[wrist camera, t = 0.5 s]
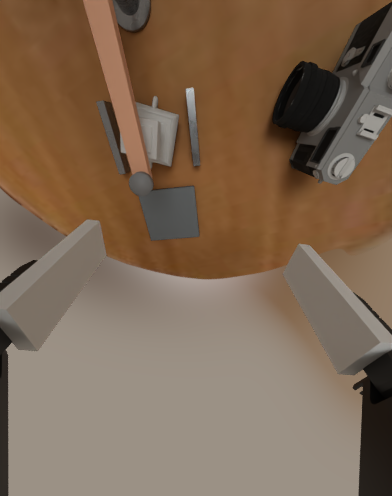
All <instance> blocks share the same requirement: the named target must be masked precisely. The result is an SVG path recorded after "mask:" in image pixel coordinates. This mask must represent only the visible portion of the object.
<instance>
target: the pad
mask: <svg viewBox="0 0 392 496" xmlns="http://www.w3.org/2000/svg"><path fill="white" fill-rule="evenodd" d="M139 199H140V202H141V206H142V209H143V213H144V217H145V220H146V224H147V227H148V231H149V234H150V238H151V241H152V240H164V239H177V238H189V237H199V227H198V218H197V209H196V200H195V190H194V186H186V187H176V188H166V189H156V190H151V192H150V193H149V194H148V195H146V196H139Z"/></svg>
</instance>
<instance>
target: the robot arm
mask: <svg viewBox="0 0 392 496" xmlns="http://www.w3.org/2000/svg"><path fill="white" fill-rule="evenodd" d="M106 256H107V255H106V250H105V245H104V240H103V235H102V230H101V225H100V221H96V220H86V221H85V222H84V223H82V224H81V225H80V226H79V227H78V228H76V229H75V230H74V231H73V232H72V233H70V234H69V235H68V236H67V237H66V238H65V239H63V240H62V241H61V242H60V243H59V244H57V245H56V246H55V247H54V248H52V249H51V250H50V251H49V252H48V253H46V254H45V255H44V256H43V257H42V258H40V259H39V260H33V261H31V262H29V263H27V264H25V265H22V266H21V267H19V268H18V269H17V270H15V271H14V272H13V273H12V274H11V276H8V277H7V278H5V279H4V280H3V281H2V283H0V496H8V354H7V351H6V348H7V347H8V346H9V345H10V344H11V343H13V344H14V345H15V346H16V347H17V349H19V350H29V351H38V350H39V349H40V347H41V346H42V344H43V343H44V342H45V340H46V339H47V338H48V336H49V335H50V333H51V332H52V331H53V329H54V328H55V326H56V325H57V323H58V322H59V321H60V320H61V318H62V317H63V315H64V314H65V312H66V311H67V310H68V308H69V307H70V306H71V304H72V303H73V301H74V300H75V299H76V297H77V296H78V294H79V293H80V292H81V290H82V289H83V287H84V286H85V285H86V283H87V282H88V281H89V279H90V278H91V276H92V275H93V274H94V272H95V271H96V269H97V268H98V266H99V265H100V264H101V262H102V261H103V259H104V258H105V257H106ZM283 276H284V278H285V279H286V281H287V283H288V285H289V287H290V288H291V290H292V292H293V294H294V296H295V297H296V299H297V301H298V303H299V305H300V306H301V308H302V310H303V312H304V314H305V315H306V317H307V319H308V321H309V323H310V324H311V326H312V328H313V330H314V332H315V333H316V335H317V337H318V339H319V341H320V342H321V344H322V346H323V348H324V350H325V351H326V353H327V355H328V357H329V359H330V360H331V362H332V364H333V366H334V367H335V369H336V371H337V373H338V374H345V375H355V374H357V373H358V372H360V371H361V370H364V371H365V373H366V374H367V377H366V378H364V379H362V380H361V381H359V382H357V383H356V384H354V386H353V389H354V390H357V389H358V388H360V387H363V391H361V392H360V394H361V395H363V400H362V424H361V448H360V473H359V474H360V475H359V496H392V329H391V328H390V327H389V326H388V325H387V324H386V323H385V322H384V321H383V320H382V319H381V318H379V316H378V315H377V313H376V312H375V311H372V308H371V307H370V306H369V305H368V304H367V303H366V302H365V301H364V300H363V299H362V298H360V297H359V296H358V295H356V294H355V293H354V292H352V291H351V290H350V289H349V288H348V287H347V286H346V285H345V284H344V282H343V281H342V280H341V279H340V278H339V277H338V276H337V275H336V274H335V273H334V271H333V270H332V269H331V268H330V267H329V266H328V265H327V264H326V263H325V262H324V261H323V260H322V258H321V257H320V256H319V255H318V254H317V253H316V252H315V251H314V250H313V248H312V247H311V246H310V245H304V244H298V246H297V248H296V250H295V252H294V253H293V255H292V257H291V259H290V261H289V263H288V265H287V267H286V268H285V270H284V272H283Z"/></svg>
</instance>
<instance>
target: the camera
mask: <svg viewBox="0 0 392 496" xmlns="http://www.w3.org/2000/svg"><path fill="white" fill-rule="evenodd" d="M391 117H392V2H391V3H389V4H388V5H386V6H385V7H383V8H382V9H380V10H379V11H377V12H376V13H374V14H373V15H371V16H370V17H368V18H367V19H365V20H364V21H362V22H361V23H359V24H358V25H356V27H355V29H354V31H353V33H352V35H351V37H350V39H349V41H348V43H347V45H346V47H345V49H344V51H343V53H342V55H341V57H340V59H339V61H338V63H337V65H336V67H335V69H334V71H333V73H331V72H329V71H327V70H323V69H320V68H318V66H317V64H314V63H312V62H309V63H307V62H304V61H302V62H300V63H299V64H298V65H297V66H296V67H295V68H294V70H293V71H292V73H291V74H290V76H289V77H288V79H287V81H286V83H285V84H284V86H283V88H282V90H281V93H280V95H279V98H278V100H277V103H276V105H275V109H274V113H273V123H274V124H276V125H278V126H279V127H281V128H290V129H292V130H295V131H300V132H301V134H300V136H299V138H298V140H297V145H296V147H295V149H294V151H293V153H292V155H291V157H290V159H289V160H290V163H291V166H292V168H294V169H296V170H299V171H301V172H304V173H306V174H309V175H311V176H313V177H315V178H316V179H319V181H318V183H322V181H326V182H329V183H332V184H336V185H337V184H339V183H341V182H343V181H344V180H346V179H348V178H349V177H350V175H351V174H352V172H353V171H354V169H355V168H356V167H357V165H358V164H359V162H360V161H361V159H362V158H363V157H364V155H365V154H366V152H367V151H368V149H369V148H370V147H371V145H372V144H373V142H374V141H375V140H376V139H377V137H378V136H379V134H380V132H381V131H382V129H383V128H384V127H385V125H386V124H387V122H388V121H389V119H390V118H391ZM320 180H321V181H320Z"/></svg>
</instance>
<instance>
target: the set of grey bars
mask: <svg viewBox="0 0 392 496" xmlns="http://www.w3.org/2000/svg"><path fill="white" fill-rule="evenodd" d="M112 1H113V6H114V10H115V14H116V19H117V23H118V24H119V25H120V26H121V27H122V28H123V29H125V30H126V31H129V32H138V31H140V30H142V29H143V28H144V27H145V25H146V24H147V22H148V19H149V16H150V10H151V0H112ZM186 98H187V107H188V117H189V127H190V136H191V146H192V156H193V165H194V166H200V156H199V144H198V132H197V120H196V109H195V97H194V88H188V89H186ZM96 103H97V106H98V109H99V112H100V115H101V119H102V122H103V125H104V128H105V131H106V134H107V137H108V140H109V143H110V147H111V150H112V153H113V156H114V159H115V162H116V165H117V168H118V171H119V174H126V173H128V172H129V171H130V167H129V164H128V160H127V157H126V153H121V141H120V132H119V129H118V125H117V122H116V118H115V115H114V111H113V108H112V104H111V103H110V102H106V101H97V102H96Z"/></svg>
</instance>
